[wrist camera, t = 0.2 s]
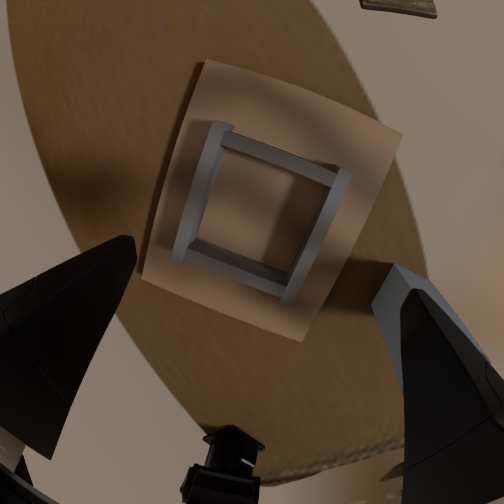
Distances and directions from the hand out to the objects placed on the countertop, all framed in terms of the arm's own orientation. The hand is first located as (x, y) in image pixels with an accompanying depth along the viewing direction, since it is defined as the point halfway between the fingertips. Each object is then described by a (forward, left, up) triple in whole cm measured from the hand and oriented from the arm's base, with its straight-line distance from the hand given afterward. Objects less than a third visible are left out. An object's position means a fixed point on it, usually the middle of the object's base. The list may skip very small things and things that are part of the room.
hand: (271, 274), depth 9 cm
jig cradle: (-2, 0, -15) cm, 16 cm away
